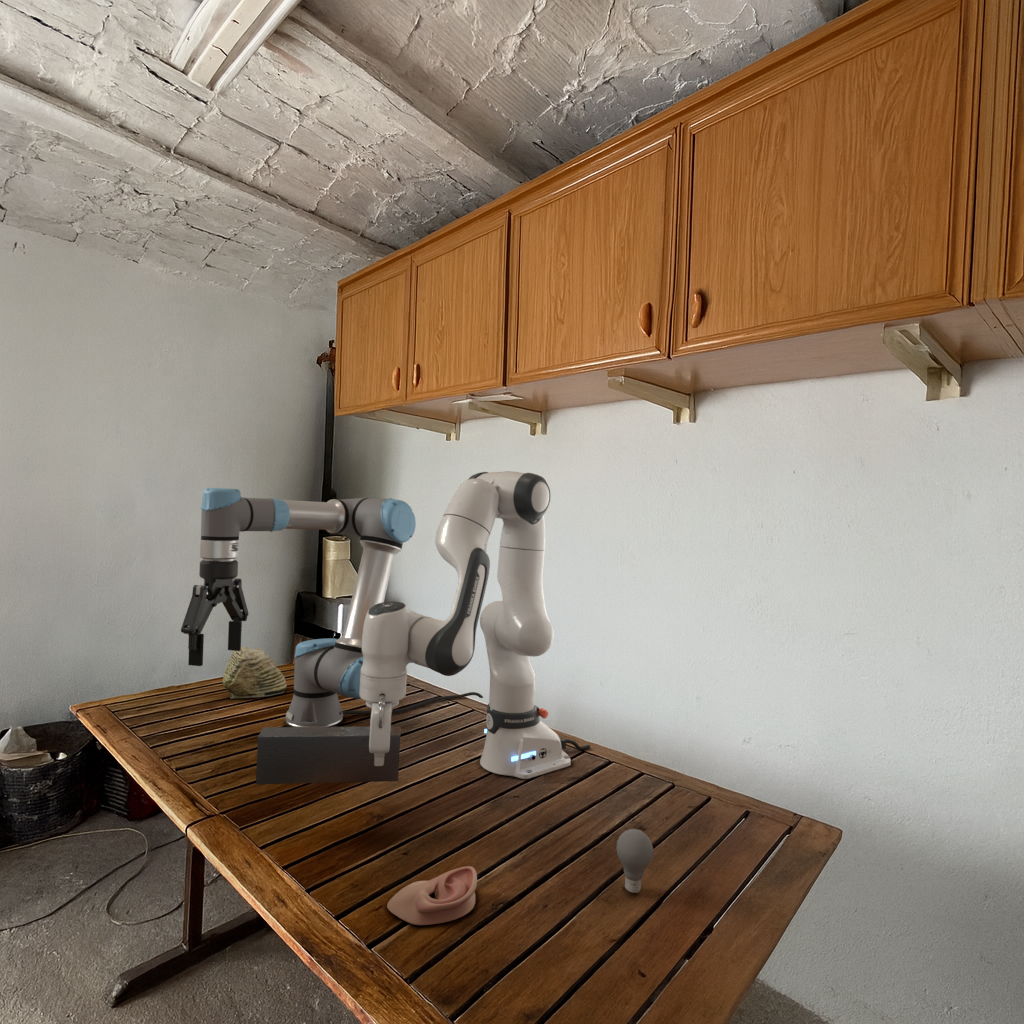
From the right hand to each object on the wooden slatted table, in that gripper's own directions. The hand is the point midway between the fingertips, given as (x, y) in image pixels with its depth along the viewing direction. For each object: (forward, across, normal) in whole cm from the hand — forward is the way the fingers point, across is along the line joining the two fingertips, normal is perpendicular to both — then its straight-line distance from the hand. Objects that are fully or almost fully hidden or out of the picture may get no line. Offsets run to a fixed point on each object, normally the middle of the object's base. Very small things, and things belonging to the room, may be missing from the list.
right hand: (379, 757), depth 123 cm
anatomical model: (+13, -25, -10) cm, 30 cm away
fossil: (+14, +83, +41) cm, 94 cm away
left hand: (-14, +21, +36) cm, 44 cm away
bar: (+4, 0, +9) cm, 10 cm away
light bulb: (+13, -25, -43) cm, 51 cm away
